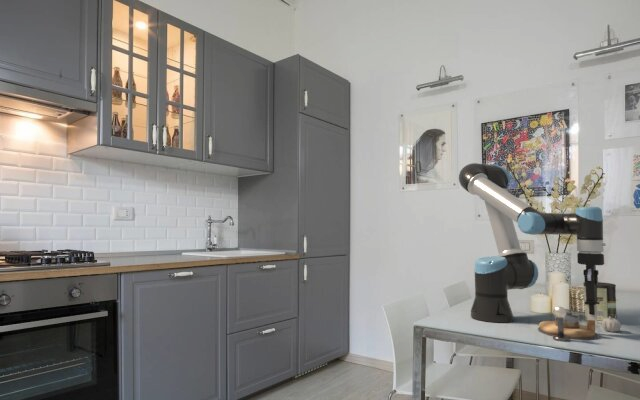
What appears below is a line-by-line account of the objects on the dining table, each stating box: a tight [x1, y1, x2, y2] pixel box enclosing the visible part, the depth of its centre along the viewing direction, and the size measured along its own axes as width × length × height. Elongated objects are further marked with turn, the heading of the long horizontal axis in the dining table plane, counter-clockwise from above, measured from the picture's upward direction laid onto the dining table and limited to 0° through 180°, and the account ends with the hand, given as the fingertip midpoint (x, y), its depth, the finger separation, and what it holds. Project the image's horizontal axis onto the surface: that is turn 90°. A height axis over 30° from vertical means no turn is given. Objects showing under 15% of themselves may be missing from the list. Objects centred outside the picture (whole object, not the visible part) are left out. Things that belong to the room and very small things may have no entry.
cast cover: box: [554, 308, 580, 329], centre depth 139 cm, size 7×7×6 cm
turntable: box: [539, 320, 596, 338], centre depth 138 cm, size 16×16×5 cm
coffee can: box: [582, 281, 618, 324], centre depth 157 cm, size 10×10×14 cm
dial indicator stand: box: [552, 306, 570, 342], centre depth 131 cm, size 4×7×10 cm, turn 141°
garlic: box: [601, 316, 622, 333], centre depth 141 cm, size 6×5×5 cm
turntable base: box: [537, 326, 598, 341], centre depth 138 cm, size 17×17×1 cm
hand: (592, 323), depth 137 cm, fingers closed
